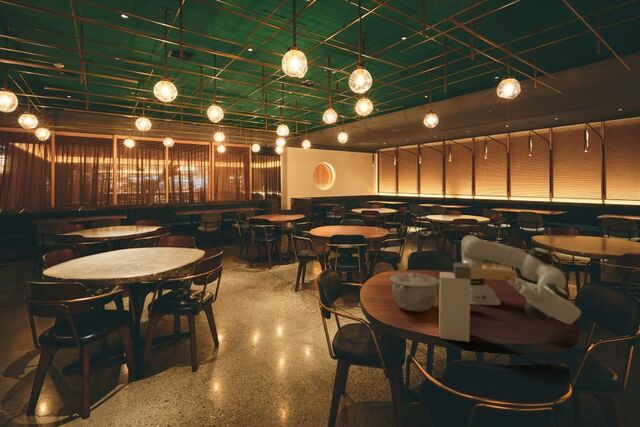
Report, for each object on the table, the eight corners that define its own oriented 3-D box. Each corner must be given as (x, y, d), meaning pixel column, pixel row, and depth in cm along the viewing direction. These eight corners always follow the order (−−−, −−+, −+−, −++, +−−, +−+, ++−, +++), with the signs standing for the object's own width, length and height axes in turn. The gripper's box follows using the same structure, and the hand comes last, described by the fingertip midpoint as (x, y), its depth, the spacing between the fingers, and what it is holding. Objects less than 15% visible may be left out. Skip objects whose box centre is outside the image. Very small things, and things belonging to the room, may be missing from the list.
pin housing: (466, 332, 144) (467, 262, 142) (469, 341, 135) (470, 267, 133) (439, 328, 148) (439, 261, 146) (440, 338, 138) (440, 266, 136)
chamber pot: (423, 298, 192) (424, 265, 191) (449, 314, 165) (450, 277, 164) (381, 301, 187) (381, 267, 186) (400, 319, 160) (401, 280, 159)
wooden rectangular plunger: (513, 278, 134) (513, 270, 134) (516, 280, 130) (516, 272, 130) (460, 274, 140) (461, 267, 140) (461, 276, 137) (462, 269, 136)
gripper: (541, 310, 120) (507, 290, 124) (525, 294, 140) (495, 277, 143) (551, 297, 119) (516, 278, 122) (533, 283, 138) (503, 266, 142)
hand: (505, 277), depth 133 cm, fingers open, 8 cm apart
